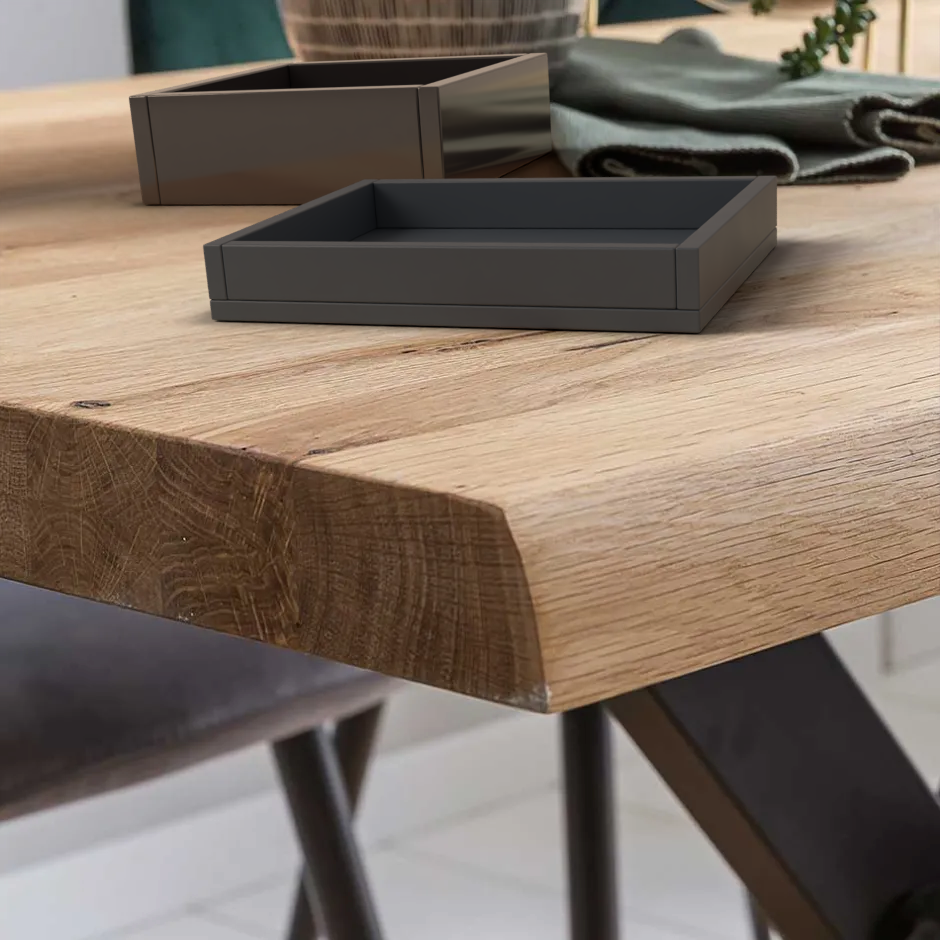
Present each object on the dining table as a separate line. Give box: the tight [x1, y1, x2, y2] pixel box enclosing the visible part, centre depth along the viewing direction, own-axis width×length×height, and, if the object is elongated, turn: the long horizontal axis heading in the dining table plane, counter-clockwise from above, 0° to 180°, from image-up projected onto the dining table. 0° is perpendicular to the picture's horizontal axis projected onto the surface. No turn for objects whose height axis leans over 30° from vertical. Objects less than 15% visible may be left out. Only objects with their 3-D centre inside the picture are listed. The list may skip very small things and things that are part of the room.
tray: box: [202, 175, 778, 334], centre depth 47 cm, size 14×11×2 cm
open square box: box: [128, 52, 553, 206], centre depth 69 cm, size 14×14×4 cm
